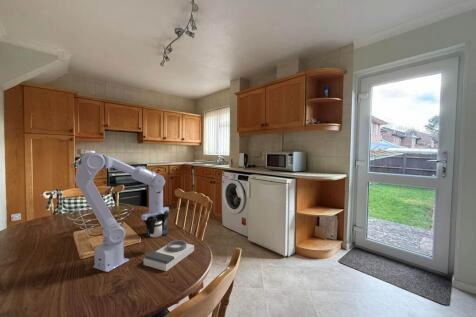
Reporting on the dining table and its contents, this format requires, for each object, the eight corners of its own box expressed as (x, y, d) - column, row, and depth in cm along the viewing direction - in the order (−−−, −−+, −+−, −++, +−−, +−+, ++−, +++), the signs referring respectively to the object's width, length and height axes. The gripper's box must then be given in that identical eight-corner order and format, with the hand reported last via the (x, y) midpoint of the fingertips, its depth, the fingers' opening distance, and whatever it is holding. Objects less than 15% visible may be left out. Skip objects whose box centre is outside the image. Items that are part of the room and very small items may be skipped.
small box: (145, 237, 109) (145, 217, 109) (147, 232, 116) (147, 213, 115) (167, 235, 112) (167, 215, 112) (168, 230, 119) (168, 212, 118)
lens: (156, 237, 92) (156, 224, 92) (147, 236, 94) (147, 222, 94) (164, 233, 97) (164, 220, 97) (155, 231, 99) (155, 218, 99)
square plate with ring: (166, 271, 79) (166, 260, 79) (143, 264, 83) (143, 254, 83) (194, 250, 96) (194, 241, 96) (174, 246, 100) (174, 237, 100)
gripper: (150, 205, 87) (150, 239, 87) (174, 198, 100) (174, 227, 101) (137, 204, 89) (137, 236, 90) (162, 197, 103) (162, 225, 103)
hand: (156, 231), depth 95 cm, fingers closed on lens, 5 cm apart
